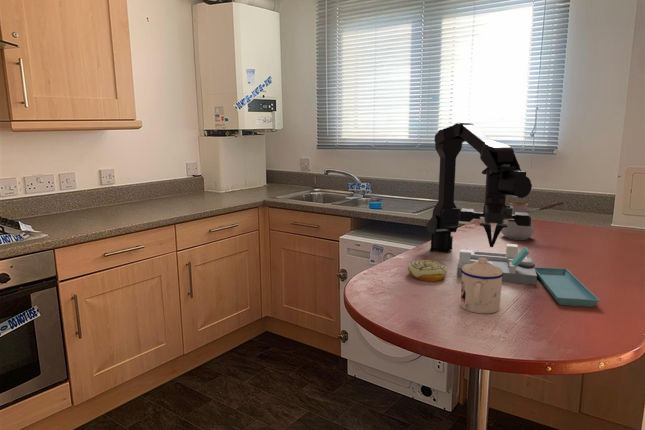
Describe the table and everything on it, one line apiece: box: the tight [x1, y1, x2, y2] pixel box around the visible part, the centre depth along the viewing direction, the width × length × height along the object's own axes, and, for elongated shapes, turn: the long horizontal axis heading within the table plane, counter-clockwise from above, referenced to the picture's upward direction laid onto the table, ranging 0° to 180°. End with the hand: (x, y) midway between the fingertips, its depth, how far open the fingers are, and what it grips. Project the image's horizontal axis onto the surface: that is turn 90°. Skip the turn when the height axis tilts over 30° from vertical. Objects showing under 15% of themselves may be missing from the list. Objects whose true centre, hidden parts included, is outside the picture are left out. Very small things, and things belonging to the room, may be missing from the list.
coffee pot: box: [500, 201, 567, 241], centre depth 173 cm, size 21×12×15 cm, turn 57°
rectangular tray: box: [534, 266, 601, 308], centre depth 122 cm, size 26×9×2 cm, turn 168°
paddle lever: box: [509, 246, 530, 267], centre depth 129 cm, size 1×5×7 cm
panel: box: [456, 250, 538, 286], centre depth 136 cm, size 20×18×4 cm
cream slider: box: [505, 243, 519, 258], centre depth 139 cm, size 3×3×4 cm
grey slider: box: [458, 248, 472, 264], centre depth 133 cm, size 3×3×4 cm
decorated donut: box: [407, 259, 448, 282], centre depth 132 cm, size 10×11×4 cm
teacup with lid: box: [460, 257, 503, 315], centre depth 107 cm, size 12×9×12 cm
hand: (491, 246), depth 134 cm, fingers closed
